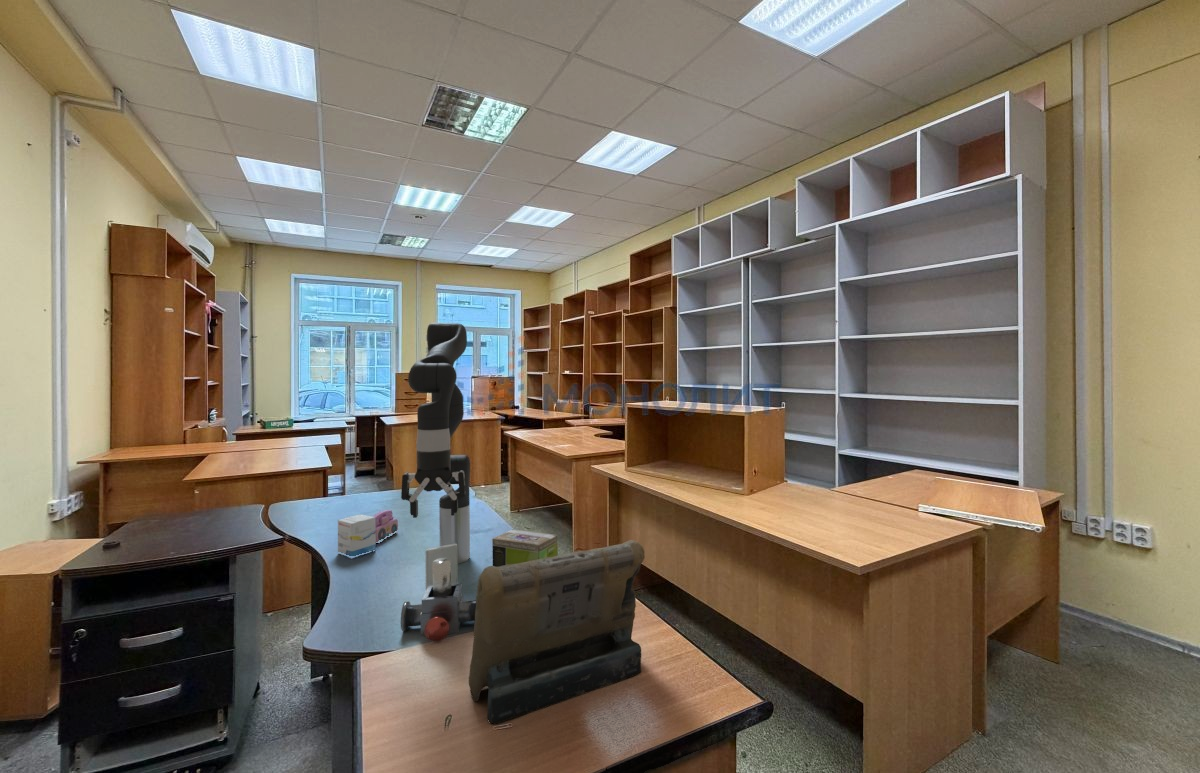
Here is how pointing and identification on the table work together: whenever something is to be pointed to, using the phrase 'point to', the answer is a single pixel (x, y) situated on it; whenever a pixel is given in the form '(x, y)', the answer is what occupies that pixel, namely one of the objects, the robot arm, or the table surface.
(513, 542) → the tea box
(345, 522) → the ink box
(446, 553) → the external hard drive
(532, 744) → the table surface
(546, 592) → the tablet
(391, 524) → the pink toy car
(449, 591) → the pipe stub
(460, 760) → the table surface
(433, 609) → the valve body
